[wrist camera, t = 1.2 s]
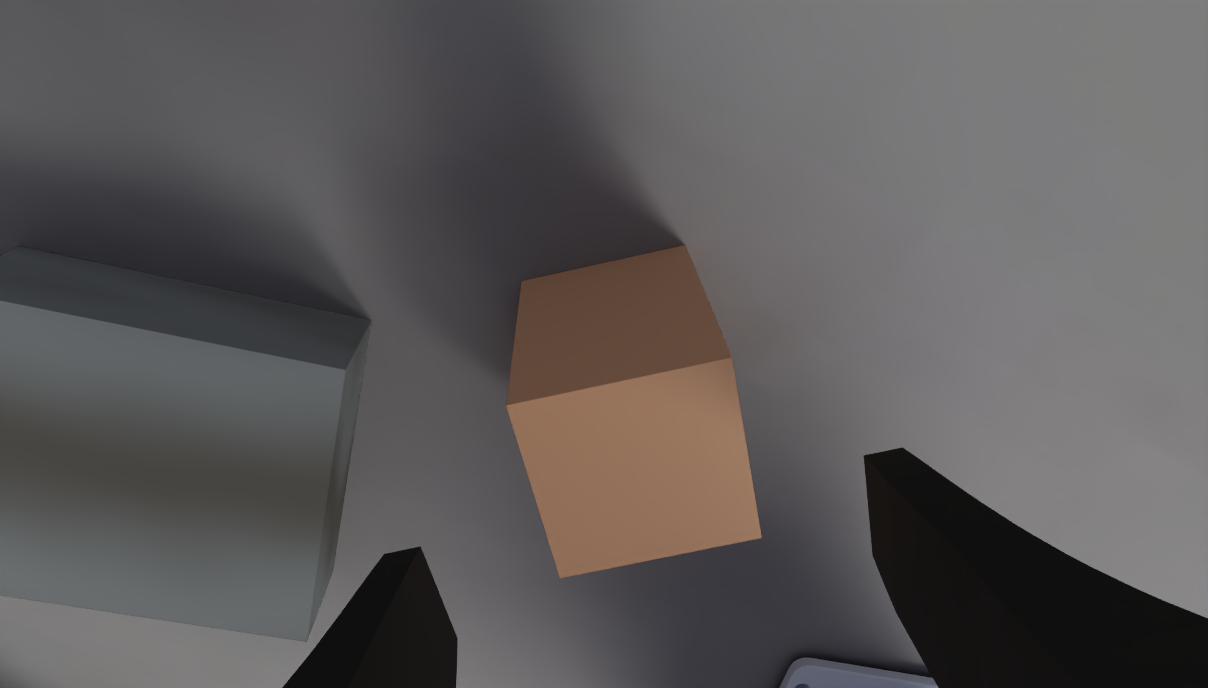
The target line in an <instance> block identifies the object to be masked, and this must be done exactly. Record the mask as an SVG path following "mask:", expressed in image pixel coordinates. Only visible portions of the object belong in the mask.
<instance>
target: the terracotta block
mask: <svg viewBox="0 0 1208 688" xmlns="http://www.w3.org/2000/svg"><path fill="white" fill-rule="evenodd" d="M506 407H507V410H508V413H509V416H510V419H511V423H512V426H513V429H514V432H515V436H516V439H517V442H518V445H519V448H520V452H521V455H522V458H523V461H524V464H525V468H526V471H527V474H528V477H529V480H530V484H531V487H532V490H533V493H534V497H535V500H536V503H537V506H538V509H539V513H540V516H541V519H542V522H543V525H544V529H545V532H546V535H547V538H548V542H549V545H550V548H551V551H552V554H553V558H554V561H555V564H556V567H557V570H558V574H559V577H560V578H564V577H569V576H574V575H579V574H584V573H589V572H594V571H599V570H604V569H609V568H614V567H619V566H624V565H629V564H634V563H639V562H644V561H649V560H654V559H659V558H664V557H669V556H674V555H679V554H684V553H689V552H694V551H699V550H704V549H709V548H714V547H719V546H724V545H729V544H734V543H739V542H744V541H749V540H754V539H759V538H762V536H761V530H760V524H759V518H758V512H757V506H756V500H755V494H754V488H753V482H752V476H751V470H750V464H749V458H748V451H747V445H746V439H745V433H744V427H743V421H742V415H741V409H740V403H739V397H738V391H737V385H736V379H735V373H734V367H733V361H732V357H731V354H730V352H729V349H728V347H727V345H726V342H725V340H724V337H723V335H722V332H721V330H720V328H719V325H718V323H717V320H716V318H715V316H714V313H713V311H712V308H711V306H710V304H709V301H708V299H707V296H706V294H705V292H704V289H703V287H702V284H701V282H700V280H699V277H698V275H697V272H696V270H695V268H694V265H693V263H692V260H691V258H690V255H689V253H688V251H687V248H686V246H685V245H683V246H678V247H674V248H669V249H665V250H660V251H656V252H651V253H647V254H642V255H638V256H633V257H629V258H624V259H619V260H615V261H610V262H606V263H601V264H597V265H592V266H588V267H583V268H579V269H574V270H570V271H565V272H561V273H556V274H551V275H547V276H542V277H538V278H533V279H529V280H524V281H522V282H521V290H520V298H519V306H518V315H517V323H516V331H515V339H514V347H513V355H512V363H511V371H510V379H509V387H508V395H507V403H506Z"/></svg>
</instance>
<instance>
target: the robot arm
mask: <svg viewBox="0 0 1208 688" xmlns="http://www.w3.org/2000/svg"><path fill="white" fill-rule="evenodd" d="M864 463H865V475H866V486H867V497H868V508H869V519H870V530H871V542H872V553H873V557H874V560H875V562H876V565H877V567H878V570H879V572H880V575H881V577H882V580H883V582H884V585H885V587H886V590H887V592H888V594H889V597H890V599H891V601H892V604H893V606H894V608H895V611H896V613H897V615H898V617H899V619H900V620H901V622H902V624H903V626H904V628H905V629H906V631H907V633H908V635H909V637H910V638H911V640H912V642H913V644H914V646H915V647H916V649H917V651H918V653H919V654H920V656H921V658H922V660H923V662H924V663H925V665H926V667H927V669H928V670H929V672H930V674H931V676H932V677H933V678H930V677H924V676H918V675H912V674H906V673H900V672H894V671H888V670H882V669H876V668H869V667H863V666H857V665H851V664H845V663H839V662H833V661H827V660H821V659H815V658H801V659H798V660H796V661H794V662H793V663H792V664H791V666H790V667H789V669H788V671H787V673H786V675H785V677H784V679H783V681H782V683H781V685H780V687H779V688H1208V618H1205V617H1203V616H1200V615H1198V614H1195V613H1193V612H1190V611H1188V610H1185V609H1183V608H1180V607H1178V606H1175V605H1173V604H1170V603H1168V602H1165V601H1163V600H1161V599H1158V598H1156V597H1154V596H1152V595H1149V594H1147V593H1145V592H1142V591H1140V590H1138V589H1136V588H1134V587H1131V586H1129V585H1127V584H1125V583H1123V582H1121V581H1119V580H1117V579H1115V578H1113V577H1111V576H1109V575H1107V574H1105V573H1102V572H1100V571H1098V570H1096V569H1094V568H1092V567H1090V566H1088V565H1086V564H1084V563H1082V562H1080V561H1079V560H1077V559H1075V558H1073V557H1071V556H1069V555H1067V554H1065V553H1064V552H1062V551H1060V550H1058V549H1057V548H1055V547H1053V546H1051V545H1050V544H1048V543H1046V542H1044V541H1043V540H1041V539H1039V538H1037V537H1036V536H1034V535H1032V534H1030V533H1029V532H1027V531H1025V530H1024V529H1022V528H1020V527H1019V526H1017V525H1015V524H1014V523H1012V522H1011V521H1009V520H1008V519H1006V518H1005V517H1003V516H1002V515H1000V514H998V513H997V512H995V511H994V510H992V509H991V508H989V507H988V506H986V505H985V504H983V503H981V502H980V501H978V500H977V499H976V498H974V497H973V496H971V495H970V494H968V493H967V492H965V491H964V490H962V489H961V488H959V487H958V486H957V485H955V484H954V483H952V482H951V481H949V480H948V479H947V478H945V477H944V476H942V475H941V474H940V473H938V472H937V471H935V470H934V469H932V468H931V467H930V466H928V465H927V464H925V463H924V462H923V461H921V460H920V459H918V458H917V457H916V456H914V455H913V454H911V453H910V452H908V451H907V450H905V449H904V448H898V449H893V450H889V451H884V452H879V453H874V454H869V455H864ZM456 674H457V636H456V634H455V631H454V629H453V626H452V624H451V621H450V619H449V616H448V614H447V611H446V609H445V606H444V604H443V601H442V599H441V596H440V594H439V591H438V589H437V586H436V584H435V581H434V579H433V576H432V574H431V571H430V569H429V566H428V564H427V561H426V559H425V557H424V554H423V552H422V549H421V547H416V548H411V549H407V550H402V551H397V552H392V553H387V554H384V555H383V556H382V558H381V559H380V560H379V562H378V563H377V564H376V566H375V567H374V568H373V570H372V571H371V572H370V574H369V575H368V576H367V578H366V579H365V580H364V582H363V583H362V585H361V586H360V587H359V589H358V590H357V592H356V593H355V594H354V596H353V597H352V598H351V600H350V601H349V603H348V604H347V605H346V607H345V608H344V609H343V611H342V612H341V614H340V615H339V616H338V618H337V619H336V620H335V622H334V623H333V624H332V626H331V627H330V628H329V630H328V631H327V632H326V634H325V635H324V636H323V638H322V639H321V640H320V642H319V643H318V644H317V646H316V647H315V648H314V650H313V651H312V652H311V653H310V655H309V656H308V657H307V658H306V660H305V661H304V662H303V663H302V664H301V666H300V667H299V668H298V669H297V671H296V672H295V673H294V674H293V675H292V677H291V678H290V679H289V680H288V681H287V683H286V684H285V685H284V686H283V688H456ZM799 684H802V685H799ZM797 685H799V686H797Z"/></svg>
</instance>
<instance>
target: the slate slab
mask: <svg viewBox="0 0 1208 688" xmlns="http://www.w3.org/2000/svg"><path fill="white" fill-rule="evenodd" d="M370 326H371V320H368V319H363V318H358V317H354V316H349V315H344V314H339V313H335V312H330V311H325V310H320V309H316V308H311V307H306V306H301V305H297V304H292V303H287V302H282V301H278V300H273V299H268V298H263V297H259V296H254V295H249V294H244V293H240V292H235V291H230V290H225V289H221V288H216V287H211V286H206V285H202V284H197V283H192V282H187V281H183V280H178V279H173V278H168V277H164V276H159V275H154V274H149V273H145V272H140V271H135V270H130V269H126V268H121V267H116V266H111V265H107V264H102V263H97V262H92V261H88V260H83V259H78V258H73V257H69V256H64V255H59V254H54V253H50V252H45V251H40V250H35V249H31V248H26V247H21V246H17V247H15V248H13V249H12V250H10V251H8V252H6V253H4V254H2V255H0V596H6V597H13V598H20V599H26V600H33V601H39V602H46V603H53V604H59V605H66V606H72V607H79V608H86V609H92V610H99V611H106V612H112V613H119V614H125V615H132V616H139V617H145V618H152V619H158V620H165V621H172V622H178V623H185V624H192V625H198V626H205V627H211V628H218V629H225V630H231V631H238V632H244V633H251V634H258V635H264V636H271V637H277V638H284V639H291V640H297V641H304V642H307V640H308V637H309V634H310V632H311V629H312V626H313V624H314V621H315V618H316V616H317V613H318V610H319V607H320V605H321V602H322V599H323V597H324V594H325V591H326V588H327V586H328V583H329V580H330V578H331V575H332V572H333V567H334V561H335V554H336V548H337V541H338V535H339V528H340V522H341V515H342V509H343V502H344V495H345V489H346V482H347V476H348V469H349V463H350V456H351V450H352V443H353V437H354V430H355V424H356V417H357V411H358V404H359V398H360V391H361V385H362V378H363V371H364V365H365V358H366V352H367V345H368V339H369V332H370Z"/></svg>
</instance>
